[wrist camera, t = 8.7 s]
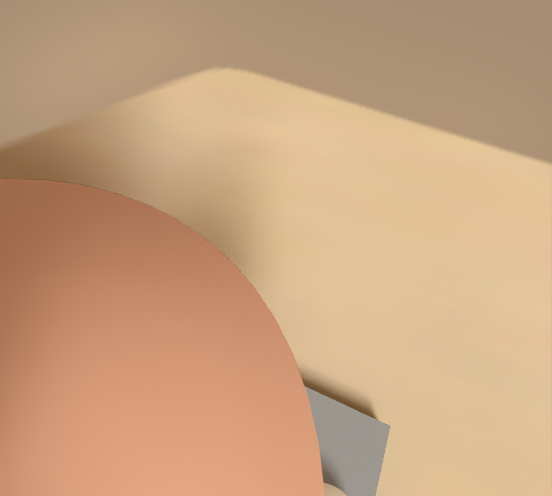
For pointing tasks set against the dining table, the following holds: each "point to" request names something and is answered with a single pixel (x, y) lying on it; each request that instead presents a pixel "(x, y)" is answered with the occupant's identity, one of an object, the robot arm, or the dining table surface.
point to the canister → (138, 358)
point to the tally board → (347, 447)
